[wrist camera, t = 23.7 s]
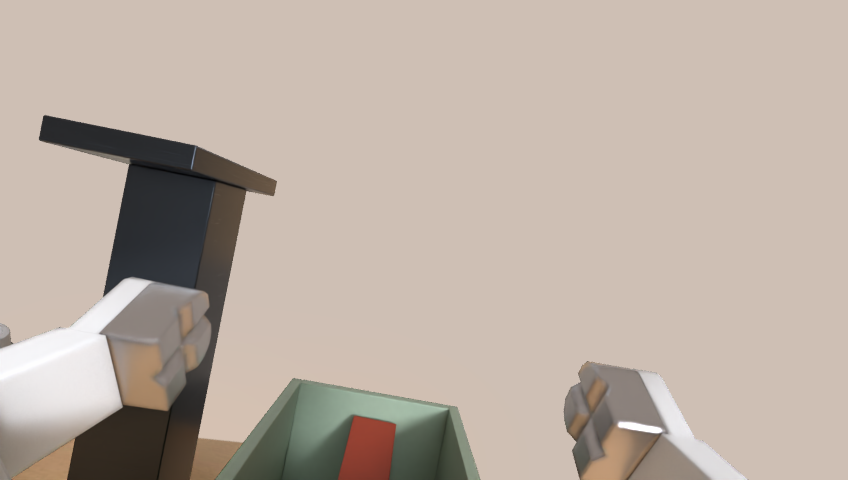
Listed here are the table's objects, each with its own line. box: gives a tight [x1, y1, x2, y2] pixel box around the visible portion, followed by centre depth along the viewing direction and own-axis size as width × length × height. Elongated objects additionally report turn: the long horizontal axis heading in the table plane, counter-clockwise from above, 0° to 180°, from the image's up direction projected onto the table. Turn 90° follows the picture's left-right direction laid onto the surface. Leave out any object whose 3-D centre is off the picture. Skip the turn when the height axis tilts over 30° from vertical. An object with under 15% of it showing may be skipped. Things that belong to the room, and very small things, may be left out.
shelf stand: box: [39, 115, 277, 480], centre depth 27 cm, size 10×13×26 cm
